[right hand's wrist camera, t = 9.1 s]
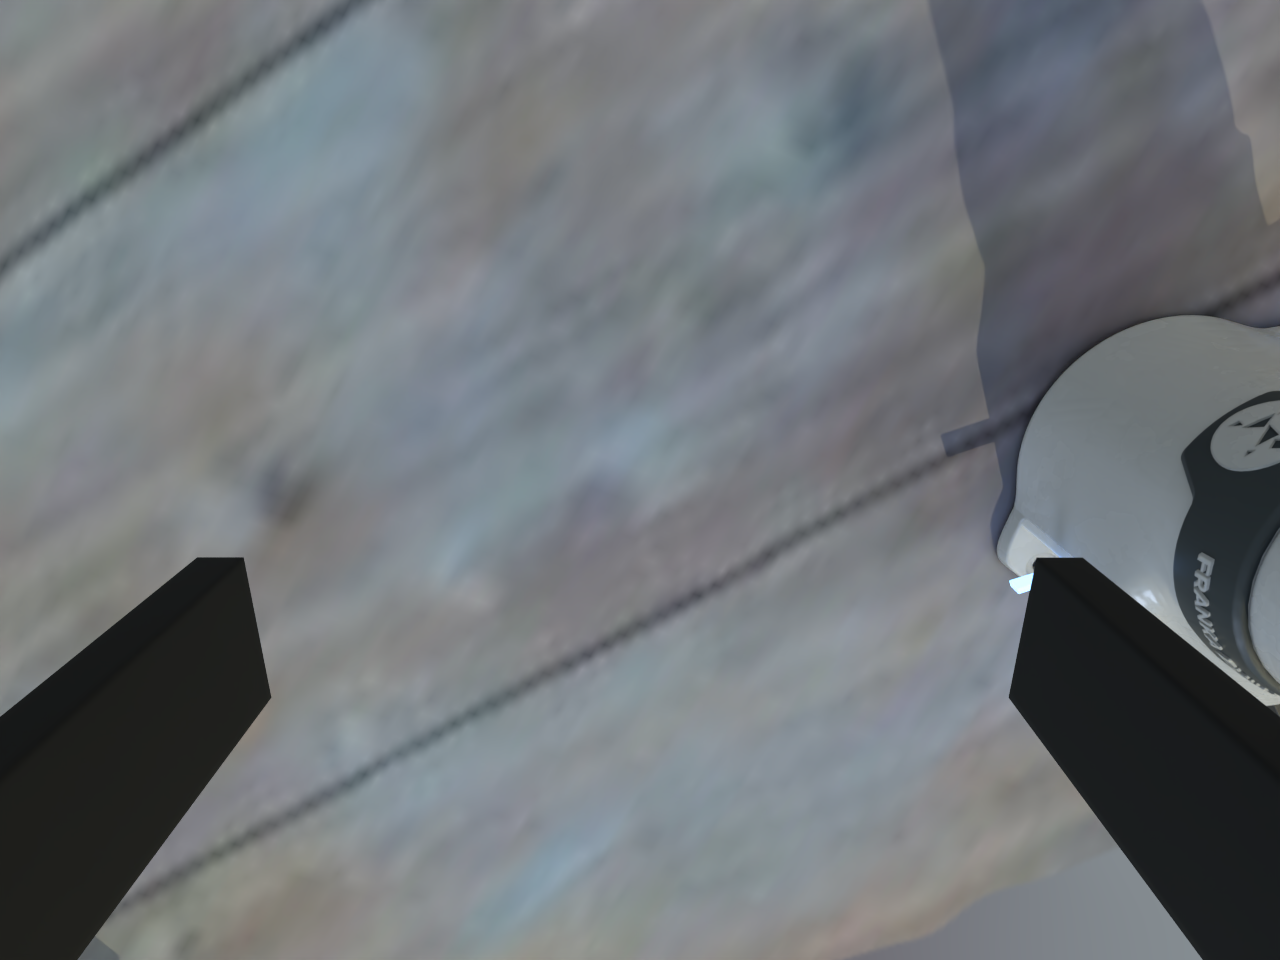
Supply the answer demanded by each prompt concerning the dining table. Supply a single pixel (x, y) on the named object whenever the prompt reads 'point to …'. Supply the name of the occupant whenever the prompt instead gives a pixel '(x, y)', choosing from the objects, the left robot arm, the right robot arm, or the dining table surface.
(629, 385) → the dining table surface
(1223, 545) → the left robot arm
